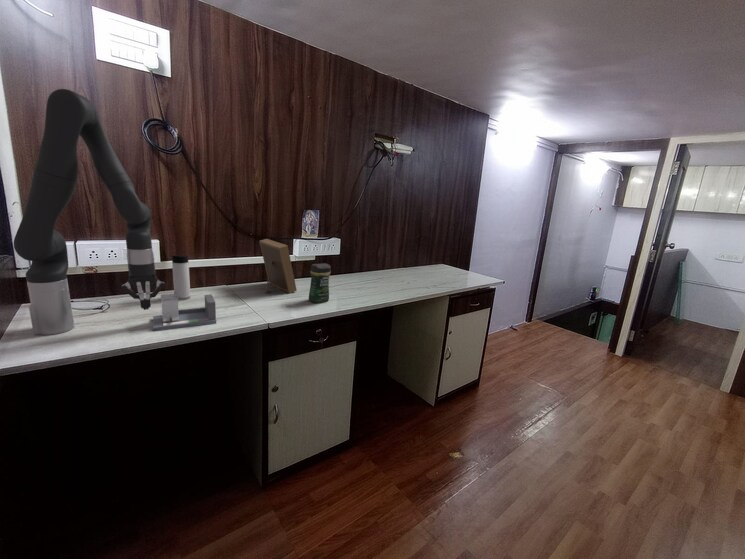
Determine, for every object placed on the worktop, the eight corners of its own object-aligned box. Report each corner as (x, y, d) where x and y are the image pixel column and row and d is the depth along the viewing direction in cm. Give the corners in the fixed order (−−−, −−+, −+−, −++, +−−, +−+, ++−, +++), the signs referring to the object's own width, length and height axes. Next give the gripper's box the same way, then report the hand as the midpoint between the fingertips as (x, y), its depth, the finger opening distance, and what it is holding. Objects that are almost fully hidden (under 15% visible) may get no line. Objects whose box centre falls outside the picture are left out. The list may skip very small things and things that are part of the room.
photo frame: (276, 282, 186) (276, 238, 179) (296, 292, 171) (297, 244, 164) (250, 285, 175) (249, 239, 169) (270, 296, 161) (270, 246, 154)
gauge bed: (153, 331, 114) (151, 308, 112) (153, 319, 123) (151, 298, 121) (216, 323, 125) (215, 302, 123) (211, 312, 134) (211, 293, 132)
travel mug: (171, 299, 145) (168, 255, 140) (179, 295, 151) (176, 252, 146) (185, 300, 145) (183, 256, 140) (193, 296, 151) (190, 253, 146)
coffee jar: (315, 304, 155) (316, 266, 151) (306, 299, 161) (307, 262, 156) (331, 301, 162) (334, 264, 157) (322, 296, 167) (324, 261, 163)
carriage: (162, 325, 116) (161, 302, 114) (162, 316, 123) (160, 294, 121) (179, 323, 119) (178, 300, 116) (178, 314, 126) (176, 293, 123)
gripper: (115, 264, 106) (122, 315, 110) (164, 262, 113) (168, 310, 117) (117, 259, 112) (123, 307, 116) (163, 258, 119) (167, 303, 123)
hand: (146, 308), depth 116 cm, fingers closed
